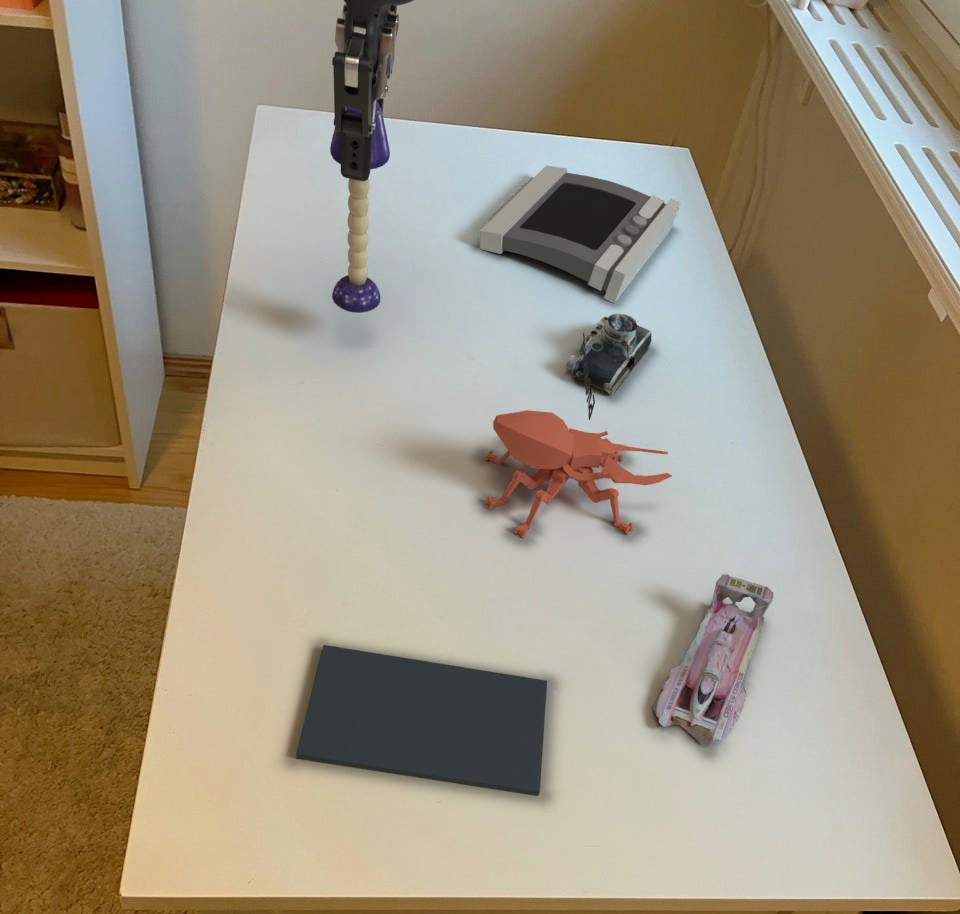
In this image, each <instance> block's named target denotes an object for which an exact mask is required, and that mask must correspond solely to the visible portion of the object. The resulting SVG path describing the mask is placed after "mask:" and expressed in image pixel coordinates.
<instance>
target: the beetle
mask: <svg viewBox="0 0 960 914" xmlns="http://www.w3.org/2000/svg"><path fill="white" fill-rule="evenodd" d="M585 335H586V334H585V331H583V332H582V343H581V345H582V347H581V346H580V348H581V351H582V349H583V351H582V354H580V355H581V358H582V357H583V360H582V364H583V362H584V364H583V368H584V373H583V374H584V375H585V376H584V381H585V382H584V381H583V382H584V385H585V396H586V397H587V398H586V403H587V410H588V421H590V420H591V419H592V414H593V412H594V409H595V404H596V400H595V393H593V391H592V386H591V385H590V378H589V377H588V375H589V369H588V365H587V364H588V361H587V362H586V360H587V353H586V349H585V345H586V336H585ZM583 345H584V347H583ZM584 349H585V351H584ZM585 354H586V356H585ZM584 358H585V360H584ZM586 368H587V372H586V374H585V371H586ZM585 379H586V380H585ZM587 379H588V380H587ZM586 382H587V383H586ZM588 382H589V384H588ZM591 400H592V402H591ZM492 428H493V430H494V432H495V433H496V435H497V437H498V438H499V439H500V441H501V442H502V443H503V445H504V446H505V448H506V449H507V451H506V452H505V453H504V454H503V455H502V457H501V458H500V457H497V455H496V454H494V450H493V449H490V450H489V451H488V452H487V454H486V456H485V457H484V458H483V460H484V462H487V461H490V462H492V463H495V464H497V466H501V465H503V463H504V461H505V460H507V459H508V458H509V457H510V456H512V458H513V459H514V460H516V461H518V462H520V463H522V464H523V465H524V466H526V467H530V468H532V469H536V470H537V469H538V470H537V471H536V473H534V474H533V476H532V475H529V474H527V472H525V471H524V470H523V469H521V470H520V469H517V470H515V471H514V472H513V477H512V478H511V480H510V482H509V483H508V484H507V487H506V488H505V491H504V492H503V493H502V495H501V496H500V497H499V498H498V499H497V498H496V497H494V498H492V496H491V495H490V496H489V495H488V497H487V498H486V500H485V502H484V503H485V504H486V505H488V510H490V511H492V509H494V507H497V506H503V505H506V501H507V499H508V498H509V497H510V495H511V494H512V493H513V491H514V490H515V489H516V488H517V487H518V485H519V484H520V483H521V484H523V485H524V486H525V487H526V488H527V489H528V490H530V491H531V490H534V489H536V488H537V487H539V486H540V485H542V484H544V483H546V482H549V481H550V482H549V484H548V486H547V489H546V490H543V489H542V488H541V489H538V490H537V491H536V493H535V495H534V500H533V503H532V505H531V508H530V511H529V514H528V516H527V518H526V521H524V523H523V524H521V526H520V525H516V526H515V528H514V531H513V533H514V534H515V535H517V534H518V535H520V538H521V539H525V536H526V534H527V533H528V532H527V531H528V530H530V529H531V527H532V523H533V521H534V519H535V517H536V515H537V513H538V511H539V508H540V507H541V506H542V503H545V504H546V505H550V504H551V503H552V501H553V499H554V498H555V497H556V496H557V494H558V493H559V492H560V491H561V490H562V488H563V485H564V484H566V482H567V481H568V480H569V479H572V480H574V481H576V482H578V487H579V488H580V489H582V490H583V491H584V493H585V494H586V495H587V496H588V498H589V499H590V500H591V501H592V502H593V503H595V504H598V503H600V502H604V501H606V500H609V503H610V507H611V513H612V517H613V526H614V527H615V528H618V529H619V530H621V531H623V532H624V535H626V536H628V535H630V532H632V531H633V530H634V524H633V522H629V523H626V522H621V520H620V511H619V497H618V496H619V495H620V493H619V491H618V490H617V489H616V488H613V487H609V488H605V489H601V490H600V489H598V486H597V485H596V483H595V481H598V480H601V479H610V480H611V481H612V482H613V483H614V484H633V485H640V486H647V485H654V484H659V483H661V482H663V481H665V480H667V479H669V478H672V477H673V475H672V474H670V473H669V472H665V473H659V474H652V475H637V474H634V473H632V472H630V471H628V470H627V469H625V468H624V467H622V465H620V464H619V463H618V461H619V462H623V461H624V456H623V454H619V453H618V452H642V453H650V454H658V455H659V454H660V455H669V451H665V450H657V449H650V448H649V449H648V448H642V447H641V448H640V447H633V446H628V445H625V444H621V443H614V442H613V443H612V442H611V440H609V439H608V438H607V437H605V436H608V435H609V432H608V431H607V430H606V431H603V432H599V433H598V432H586V431H584V430H583V431H582V430H578V429H575V428H571V427H570V428H569V427H568V425H567V424H566V423H565V420H564V419H562V418H561V417H560V416H558V415H556V414H555V413H553V411H551V412H549V411H539V410H529V409H528V410H521V411H514V412H509V413H504V414H497V415H495V417H494V419H493V422H492ZM602 437H605V438H602ZM600 467H601V468H602V469H601V471H599V472H594V470H593V468H594V469H595V468H596V469H599V468H600Z"/></svg>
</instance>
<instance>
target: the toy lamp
mask: <svg viewBox="0 0 960 914" xmlns="http://www.w3.org/2000/svg"><path fill="white" fill-rule="evenodd" d="M349 112H353V113H358V114H362V112H361V111H360V110H359V109H354V108H349ZM374 122H376V125H375V130H373V136H372V153H371V170H375V169H379V168H381V167H383V166H385V165H386V164H387V163H388V162H389V159H390V156H391V150H390V145H389V140H388V133H387V129H386V125H385V120H384V113H383V114H382V111H381V107H380V105H379V104H378V102H376V110H375V120H374ZM341 143H342V132H337V131H335V128H334V130H333V134H332V138H331V141H330V147H329V153H330V157H332V159H333V160H334V161H335V162H336V163H338V164H339V165H341ZM370 186H371V185H370V179H369V178H368V179H367V180H366V181H359V180H354V179H348V184H347V187H348V188H347V189H348V192H349V196H348V197H347V198H348V199H347V207H348V211H349V213H348V215H347V227H348V229H349V231H348V233H347V244H348V247H349V248H348V251H347V260H348V263H349V265H348V267H347V275H345V276H343V277H341V278H340V279H339V280H338V281H337V282H336V283H335V285H334V287H333V290H332V292H331V293H332V295H331V297H332V298H331V299H332V301H333V303H334V304H335V305H336V306H337V307H339V308H340V309H342V310H344V311H346V312H350V313H357V314H362V313H368V312H371V311H372V310H375V309H376V308H377V307H378V306H379V305H380V303H381V293H380V290H379V287H378V284H376V282H374V281H373V280H372V279H371V278H369V277H368V273H369V272H368V271H369V270H368V266H367V263H368V261H369V253H368V249H367V248H368V245H369V234H368V232H367V231H368V229H369V215H368V212H369V208H370V200H369V197H368V195H369V193H370V189H371V188H370Z"/></svg>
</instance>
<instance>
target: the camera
mask: <svg viewBox="0 0 960 914" xmlns="http://www.w3.org/2000/svg"><path fill="white" fill-rule="evenodd" d="M585 343H586V345H585V349H586V353H587V360H586V362H587V361H588V364H587V365H588V369H589V375H588V377H589V378H590V386H591V387H594V388H597V389H599V390H601V391H603V392H605V393H607V394H609V395H612V396H613V395H614V394H615V393H616V392H617V391H618V389H619V388H620V387H621V385H622V384H623V383H624V381H626V379H627V378H628V377H629V375H630V374H631V373H632V371H633V369H634V368H635V367H636V365H637V364H638V363H639V362H640V361H641V360H642V358H643V357H644V356H645V354H646V353H647V352H648V350H649V349H650V345H651V343H652V331H651V330H650V329H648V328H645V327H643V326H640V325H638V323H637V320H636V319H635V318H633V317H632V316H630V315H627V314H625V313H612V314H610V315H609V316H603V317H602V318H601V319H600V320H599V321H598V322H597V323H596V325H595V326H594V327H593V328H592V329H591V330H590V331H589V332H588V334H587V337H586V338H585ZM581 347H582V344H581V345H580V348H579V354H580V355H579V356H576V355H574V354H571V355H570V356H569V358H568V359H567V362H566V365H565V368H566V369H567V370H570V371H571V374H572V375H571V377H573V378H576V379H577V380H580V381H582V382H584V383H585V381H584V376H585V375H584V374H583V373H584V368H583V364H584V362H583V364H582V360H583V357H582V358H581V355H582V351H583V349H582V351H581ZM583 347H584V345H583ZM585 349H584V351H585ZM585 356H586V354H585ZM584 360H585V358H584ZM586 372H587V368H586V371H585V374H586ZM585 380H586V379H585ZM587 380H588V379H587ZM586 384H587V382H586ZM588 385H589V382H588Z"/></svg>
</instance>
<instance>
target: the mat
mask: <svg viewBox="0 0 960 914" xmlns="http://www.w3.org/2000/svg"><path fill="white" fill-rule="evenodd" d="M319 656H320V657H319V661H318V665H317V668H316V673H315V677H314V681H313V685H312V689H311V693H310V697H309V701H308V705H307V709H306V714H305V718H304V722H303V726H302V730H301V734H300V738H299V743H298V746H297V750H296V759H297V760H304V761H311V762H317V763H322V764H329V765H336V766H344V767H350V768H355V769H362V770H369V771H375V772H381V773H382V772H383V773H388V774H395V775H400V776H401V775H402V776H407V777H414V778H420V779H428V780H433V781H440V782H447V783H452V784H458V785H466V786H472V787H479V788H485V789H491V790H497V791H505V792H509V793H510V792H512V793H516V794H517V793H518V794H525V795H531V796H537V797H538V796H539V795H540V793H541V781H542V766H543V752H544V736H545V735H544V734H545V720H546V708H547V707H546V706H547V705H546V704H547V691H548V680H545V679H539V678H532V677H528V676H521V675H515V674H508V673H501V672H497V671H490V670H483V669H477V668H471V667H465V666H458V665H452V664H446V663H439V662H433V661H427V660H421V659H416V658H415V659H414V658H408V657H402V656H395V655H390V654H384V653H383V654H382V653H377V652H371V651H365V650H358V649H353V648H352V649H351V648H348V647H347V648H345V647H339V646H334V645H327V644H323V645H322V648H321V652H320V655H319Z"/></svg>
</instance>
